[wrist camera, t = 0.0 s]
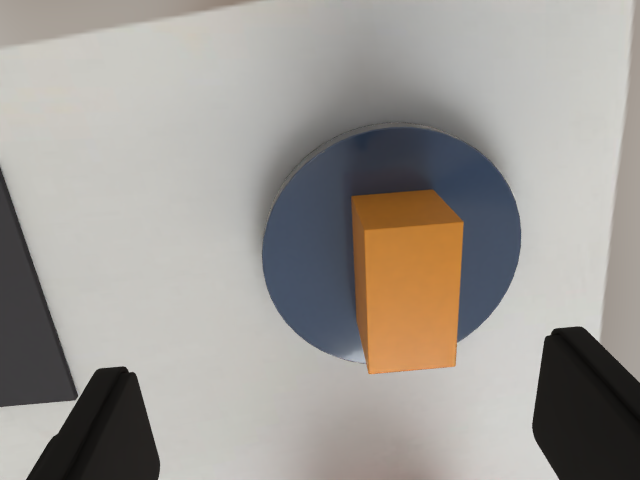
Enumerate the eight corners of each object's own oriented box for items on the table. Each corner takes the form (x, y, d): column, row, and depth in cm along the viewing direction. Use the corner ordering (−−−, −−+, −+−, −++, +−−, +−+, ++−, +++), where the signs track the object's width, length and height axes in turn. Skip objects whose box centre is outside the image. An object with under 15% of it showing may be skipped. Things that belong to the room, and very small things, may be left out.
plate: (248, 133, 25) (246, 138, 24) (522, 111, 26) (535, 115, 24) (276, 360, 31) (276, 375, 30) (499, 340, 32) (509, 354, 30)
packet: (351, 195, 25) (363, 229, 21) (433, 189, 26) (464, 221, 21) (356, 321, 29) (368, 374, 24) (429, 314, 29) (455, 367, 24)
